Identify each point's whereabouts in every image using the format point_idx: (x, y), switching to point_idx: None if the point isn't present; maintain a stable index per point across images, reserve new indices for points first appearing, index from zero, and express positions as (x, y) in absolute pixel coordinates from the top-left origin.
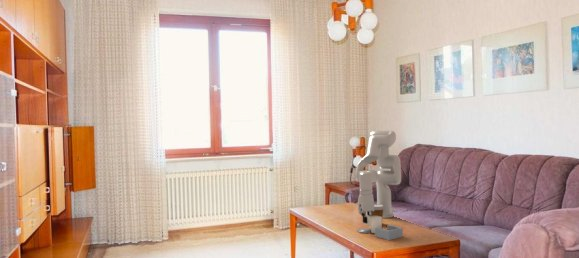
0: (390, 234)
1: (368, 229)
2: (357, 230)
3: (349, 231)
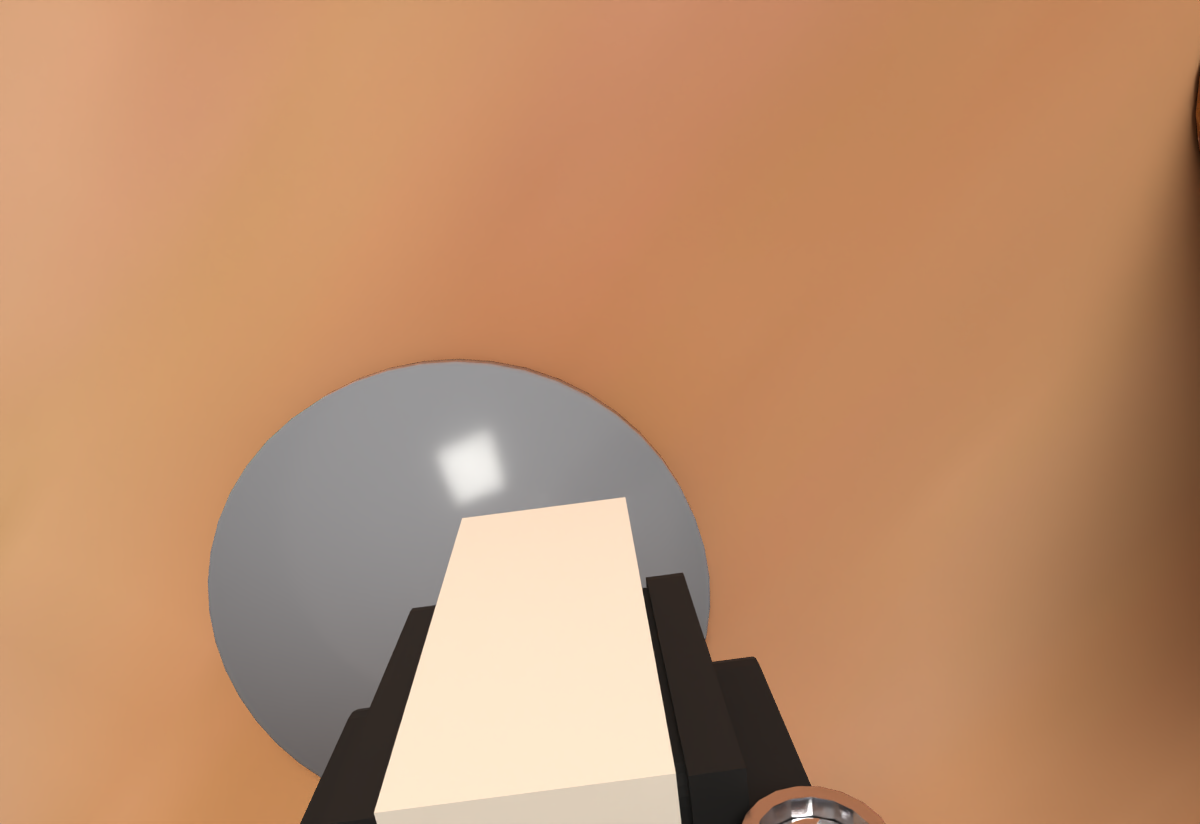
0: None
1: None
2: (236, 501)
3: (23, 351)
